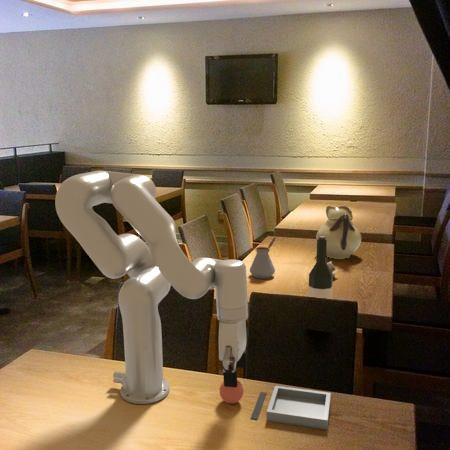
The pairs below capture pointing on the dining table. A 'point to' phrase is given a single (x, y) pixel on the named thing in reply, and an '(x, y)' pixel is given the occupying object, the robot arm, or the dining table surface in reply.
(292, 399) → the tray
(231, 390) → the ball
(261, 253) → the coffee pot
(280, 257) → the dining table surface
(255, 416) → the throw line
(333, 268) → the architectural model
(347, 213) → the white drawstring sack
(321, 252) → the wine bottle
